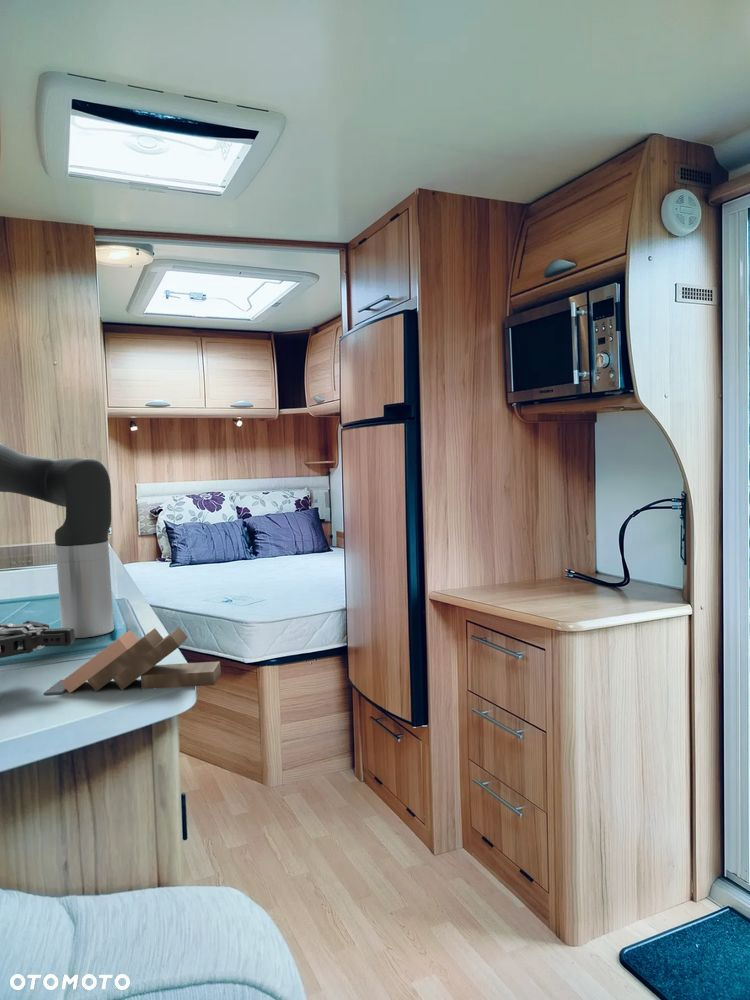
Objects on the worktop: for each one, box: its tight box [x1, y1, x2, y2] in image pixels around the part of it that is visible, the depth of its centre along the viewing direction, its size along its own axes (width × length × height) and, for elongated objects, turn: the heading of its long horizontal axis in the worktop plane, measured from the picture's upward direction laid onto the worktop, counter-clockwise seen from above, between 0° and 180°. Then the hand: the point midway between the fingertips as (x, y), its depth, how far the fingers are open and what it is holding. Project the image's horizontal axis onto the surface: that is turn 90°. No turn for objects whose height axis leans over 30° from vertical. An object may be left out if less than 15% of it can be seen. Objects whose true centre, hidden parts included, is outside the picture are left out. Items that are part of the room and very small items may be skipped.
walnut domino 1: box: [86, 627, 164, 692], centre depth 97 cm, size 2×5×10 cm
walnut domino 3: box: [140, 661, 222, 690], centre depth 98 cm, size 2×5×10 cm
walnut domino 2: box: [112, 626, 188, 691], centre depth 97 cm, size 2×5×10 cm
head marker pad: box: [43, 679, 68, 696], centre depth 97 cm, size 3×6×1 cm, turn 2°
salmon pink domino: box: [61, 629, 139, 694], centre depth 97 cm, size 2×5×10 cm
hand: (72, 636), depth 97 cm, fingers closed
